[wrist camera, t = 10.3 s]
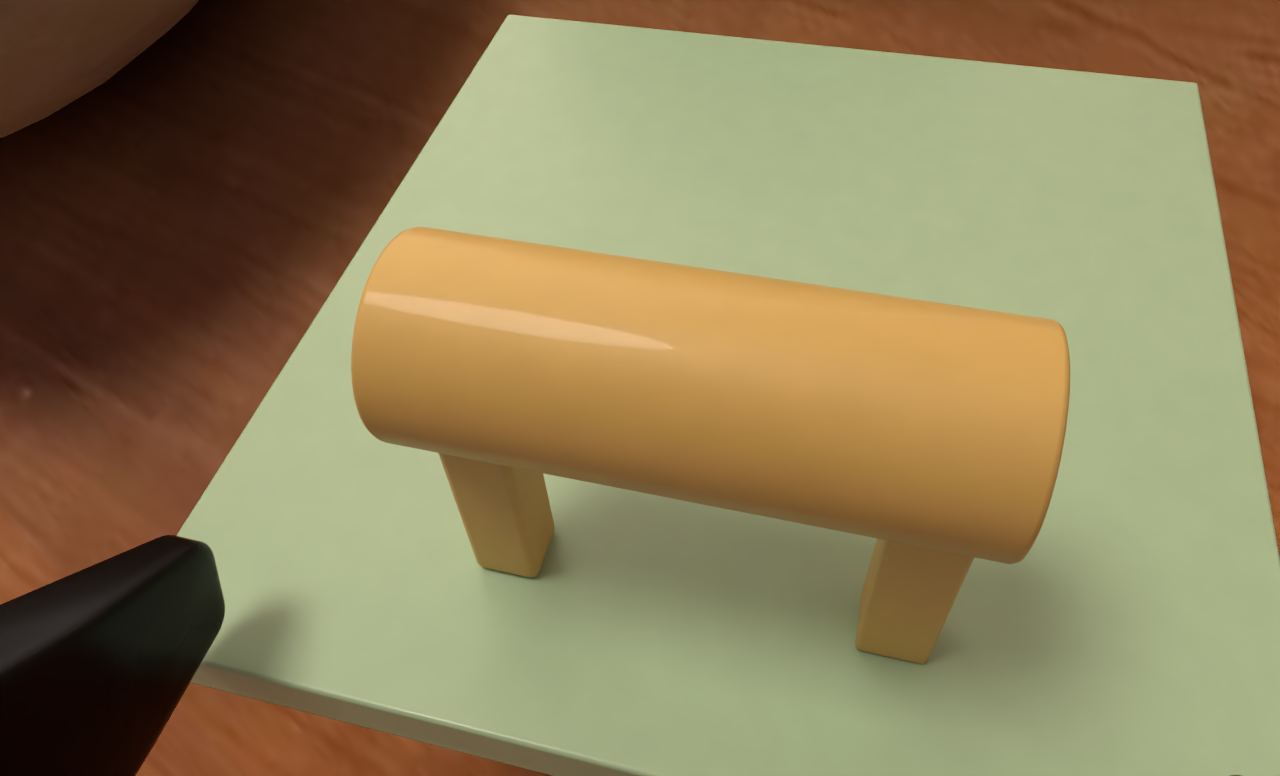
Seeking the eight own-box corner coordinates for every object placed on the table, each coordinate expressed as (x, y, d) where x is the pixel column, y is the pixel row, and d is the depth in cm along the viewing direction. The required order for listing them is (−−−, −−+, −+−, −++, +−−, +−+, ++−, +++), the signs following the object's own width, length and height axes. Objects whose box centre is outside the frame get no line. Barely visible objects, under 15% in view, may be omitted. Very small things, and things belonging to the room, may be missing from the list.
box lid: (1303, 971, 8) (1827, 795, 4) (142, 671, 11) (-177, 380, 7) (1179, 124, 16) (1335, -215, 12) (514, 52, 18) (464, -254, 14)
